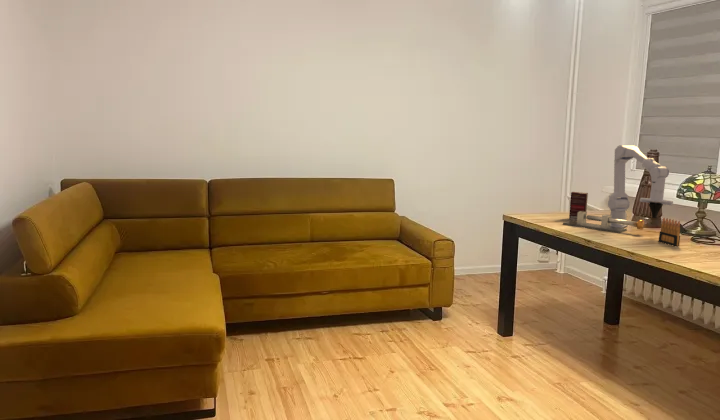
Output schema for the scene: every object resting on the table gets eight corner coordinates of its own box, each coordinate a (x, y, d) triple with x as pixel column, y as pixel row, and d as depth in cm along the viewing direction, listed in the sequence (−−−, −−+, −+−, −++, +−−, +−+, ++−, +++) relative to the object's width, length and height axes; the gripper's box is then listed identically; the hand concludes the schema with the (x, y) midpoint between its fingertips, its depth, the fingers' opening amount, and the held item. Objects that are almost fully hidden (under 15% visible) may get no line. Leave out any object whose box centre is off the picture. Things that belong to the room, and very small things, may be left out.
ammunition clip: (679, 246, 254) (682, 221, 252) (676, 246, 254) (679, 221, 252) (661, 241, 264) (664, 216, 262) (658, 241, 264) (661, 217, 262)
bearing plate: (570, 222, 309) (571, 209, 308) (626, 230, 289) (628, 216, 288) (562, 224, 302) (564, 210, 301) (619, 233, 282) (621, 218, 280)
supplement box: (585, 220, 318) (588, 192, 315) (584, 221, 314) (586, 193, 311) (570, 218, 322) (572, 191, 320) (568, 219, 318) (570, 192, 316)
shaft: (588, 221, 300) (589, 212, 299) (643, 229, 280) (644, 219, 280) (585, 222, 296) (585, 213, 295) (640, 230, 277) (641, 220, 276)
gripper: (639, 189, 274) (636, 216, 276) (671, 193, 264) (667, 220, 266) (643, 188, 279) (640, 215, 281) (675, 191, 269) (672, 219, 271)
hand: (654, 217), depth 274 cm, fingers closed
